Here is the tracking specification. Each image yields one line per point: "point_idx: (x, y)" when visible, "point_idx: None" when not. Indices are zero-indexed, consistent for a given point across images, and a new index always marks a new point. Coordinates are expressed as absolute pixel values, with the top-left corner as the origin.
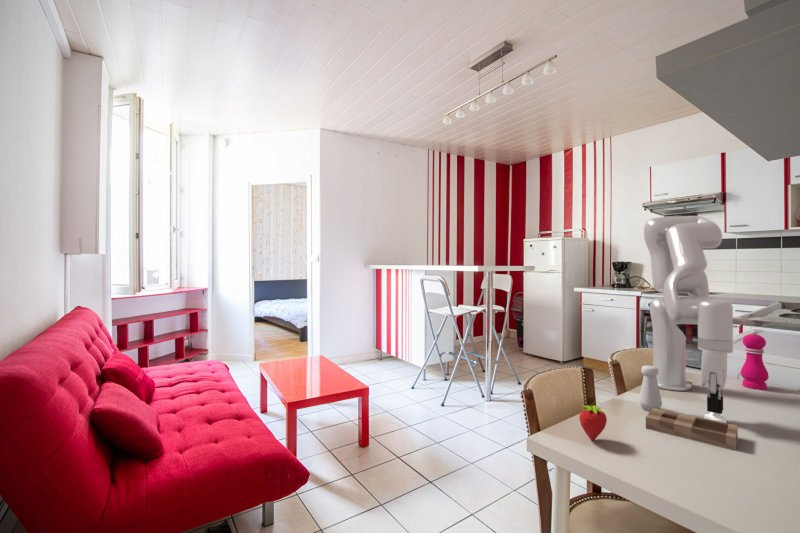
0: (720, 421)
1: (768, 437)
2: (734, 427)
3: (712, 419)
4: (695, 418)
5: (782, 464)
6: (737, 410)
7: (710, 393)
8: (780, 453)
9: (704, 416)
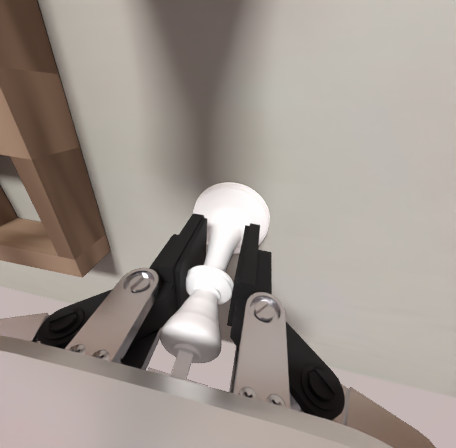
0: None
1: None
2: (54, 267)
3: (193, 212)
4: (13, 155)
5: (38, 287)
6: (412, 298)
7: (31, 315)
8: None
9: (222, 186)
